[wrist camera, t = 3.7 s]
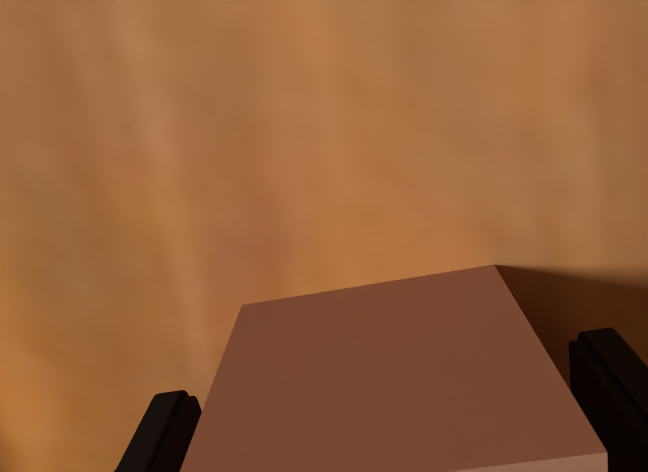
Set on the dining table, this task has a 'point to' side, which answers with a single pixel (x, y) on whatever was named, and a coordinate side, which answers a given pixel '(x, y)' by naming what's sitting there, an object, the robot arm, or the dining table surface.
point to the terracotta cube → (392, 385)
